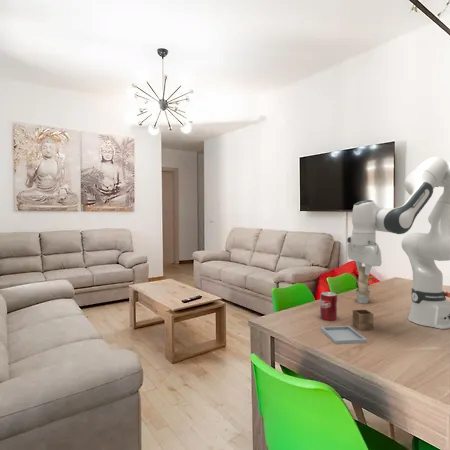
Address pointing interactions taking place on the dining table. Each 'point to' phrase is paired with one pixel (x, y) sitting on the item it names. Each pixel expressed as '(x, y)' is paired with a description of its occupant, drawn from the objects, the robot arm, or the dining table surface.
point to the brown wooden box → (362, 320)
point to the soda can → (328, 306)
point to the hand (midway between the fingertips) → (363, 273)
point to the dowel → (363, 282)
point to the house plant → (359, 299)
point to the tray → (343, 335)
